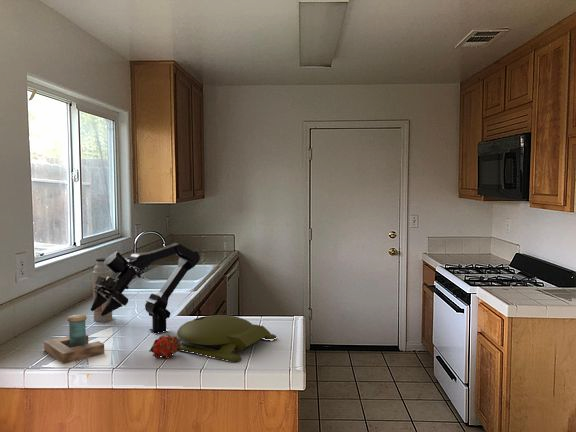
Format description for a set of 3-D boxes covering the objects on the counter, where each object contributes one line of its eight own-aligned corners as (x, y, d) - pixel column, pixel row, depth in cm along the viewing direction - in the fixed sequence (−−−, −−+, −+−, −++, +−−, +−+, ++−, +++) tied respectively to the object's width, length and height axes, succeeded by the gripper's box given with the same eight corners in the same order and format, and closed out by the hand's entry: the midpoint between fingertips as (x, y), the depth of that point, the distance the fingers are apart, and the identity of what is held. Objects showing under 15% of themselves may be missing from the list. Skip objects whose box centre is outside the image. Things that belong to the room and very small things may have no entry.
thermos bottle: (102, 322, 220) (100, 260, 218) (89, 320, 224) (88, 259, 222) (116, 318, 227) (114, 258, 225) (103, 315, 231) (102, 256, 229)
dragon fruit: (183, 357, 182) (152, 369, 175) (174, 340, 187) (143, 350, 180) (186, 344, 177) (154, 355, 170) (177, 326, 182) (145, 336, 175)
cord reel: (91, 349, 186) (90, 315, 185) (77, 355, 180) (76, 320, 179) (78, 347, 188) (77, 313, 187) (64, 352, 183) (63, 318, 182)
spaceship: (279, 339, 199) (279, 316, 198) (236, 365, 172) (236, 337, 171) (209, 327, 216) (209, 305, 215) (160, 348, 188) (159, 323, 188)
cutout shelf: (83, 341, 195) (83, 332, 195) (104, 353, 182) (104, 344, 181) (44, 350, 185) (44, 341, 184) (63, 363, 171) (63, 354, 171)
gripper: (98, 264, 197) (71, 296, 191) (119, 271, 184) (91, 305, 177) (117, 281, 204) (91, 312, 197) (139, 288, 190) (113, 322, 183)
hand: (96, 313), depth 188 cm, fingers open, 9 cm apart
